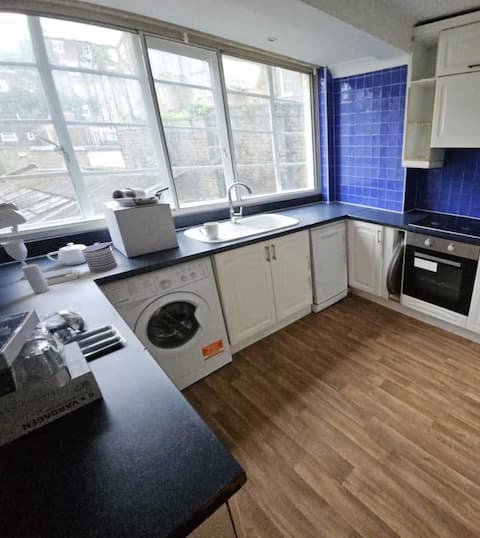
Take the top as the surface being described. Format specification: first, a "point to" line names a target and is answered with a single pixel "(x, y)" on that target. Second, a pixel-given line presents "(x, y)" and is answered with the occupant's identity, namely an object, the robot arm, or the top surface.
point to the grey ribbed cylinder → (100, 258)
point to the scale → (60, 275)
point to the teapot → (70, 254)
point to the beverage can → (35, 278)
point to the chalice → (16, 250)
